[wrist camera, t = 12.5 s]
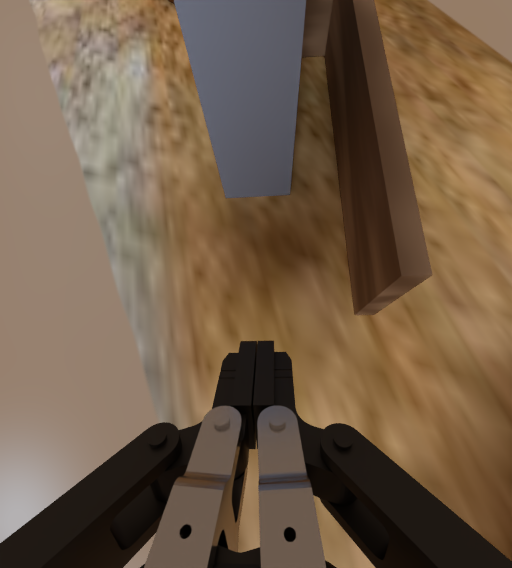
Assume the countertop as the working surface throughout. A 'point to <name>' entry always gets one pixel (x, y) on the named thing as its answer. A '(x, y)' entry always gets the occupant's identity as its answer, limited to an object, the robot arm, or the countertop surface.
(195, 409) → the countertop surface
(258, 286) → the countertop surface
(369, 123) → the shelf corner
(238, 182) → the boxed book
